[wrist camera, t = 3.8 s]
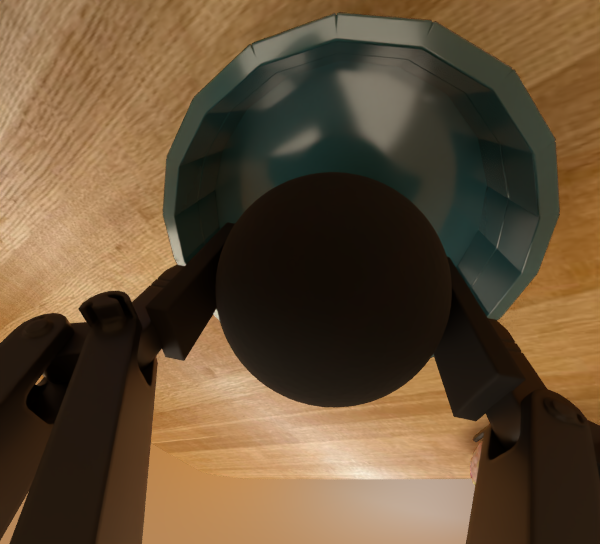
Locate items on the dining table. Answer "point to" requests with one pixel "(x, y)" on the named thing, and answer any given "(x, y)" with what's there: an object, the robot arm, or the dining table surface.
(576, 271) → the dining table surface
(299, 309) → the decorative ball
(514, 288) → the teal bowl
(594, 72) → the dining table surface
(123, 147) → the dining table surface
